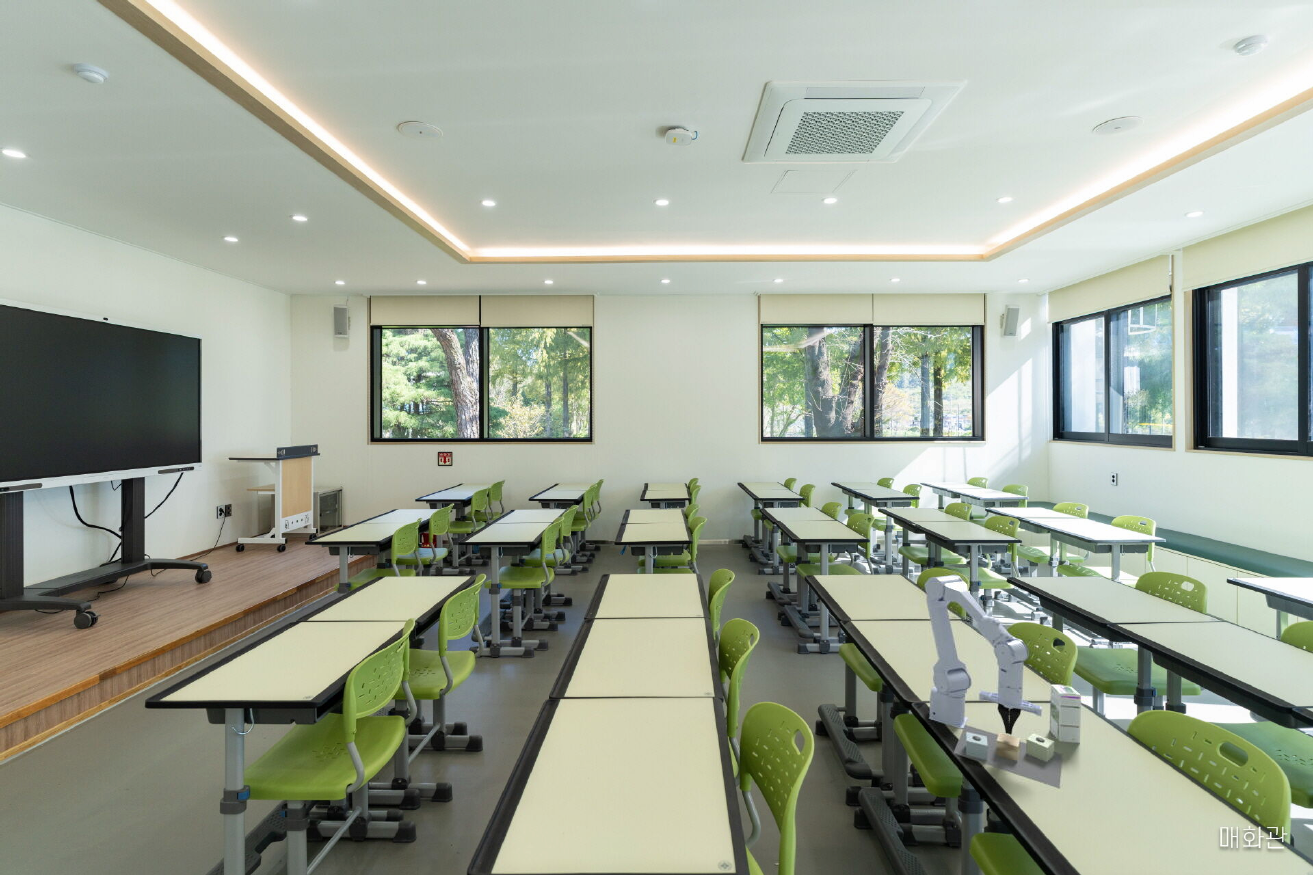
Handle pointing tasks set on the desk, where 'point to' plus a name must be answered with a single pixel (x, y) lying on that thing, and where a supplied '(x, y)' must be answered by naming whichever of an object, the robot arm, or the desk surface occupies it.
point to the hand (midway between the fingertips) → (1008, 732)
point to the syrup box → (1065, 713)
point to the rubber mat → (1023, 766)
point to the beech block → (1008, 746)
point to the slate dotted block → (976, 745)
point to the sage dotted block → (1040, 747)
